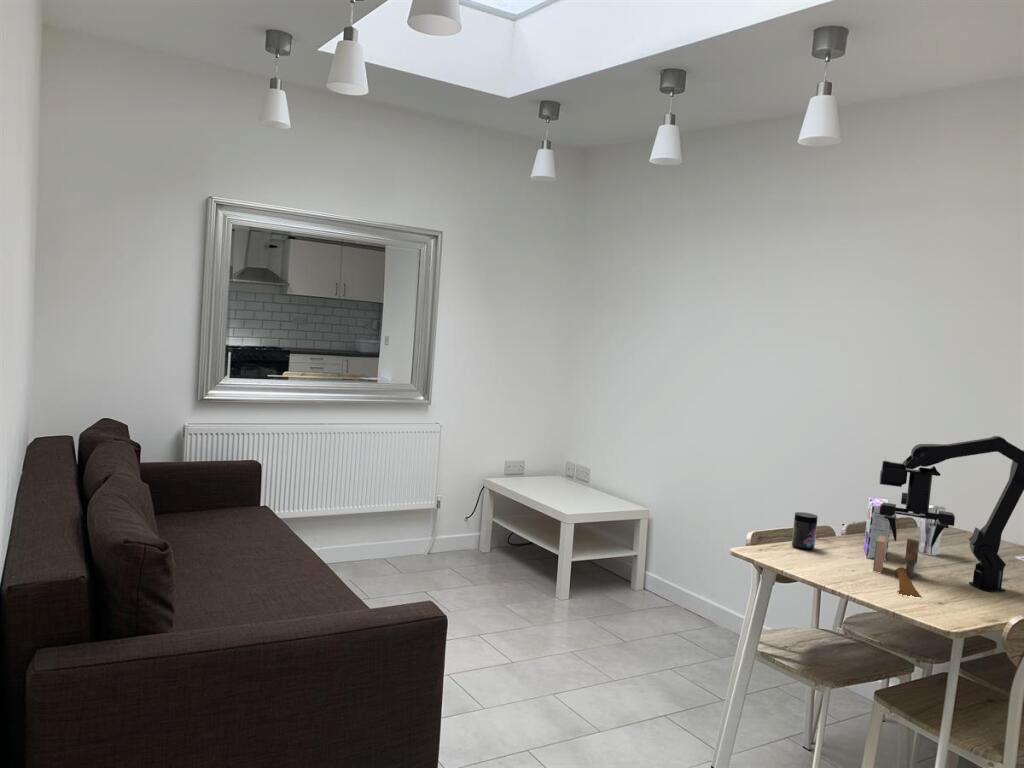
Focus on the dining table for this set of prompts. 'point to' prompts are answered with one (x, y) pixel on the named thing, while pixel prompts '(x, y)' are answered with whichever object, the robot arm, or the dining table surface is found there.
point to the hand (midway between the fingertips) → (913, 543)
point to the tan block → (879, 553)
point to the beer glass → (929, 533)
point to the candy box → (875, 527)
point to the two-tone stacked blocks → (911, 556)
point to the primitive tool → (905, 583)
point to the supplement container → (804, 531)
